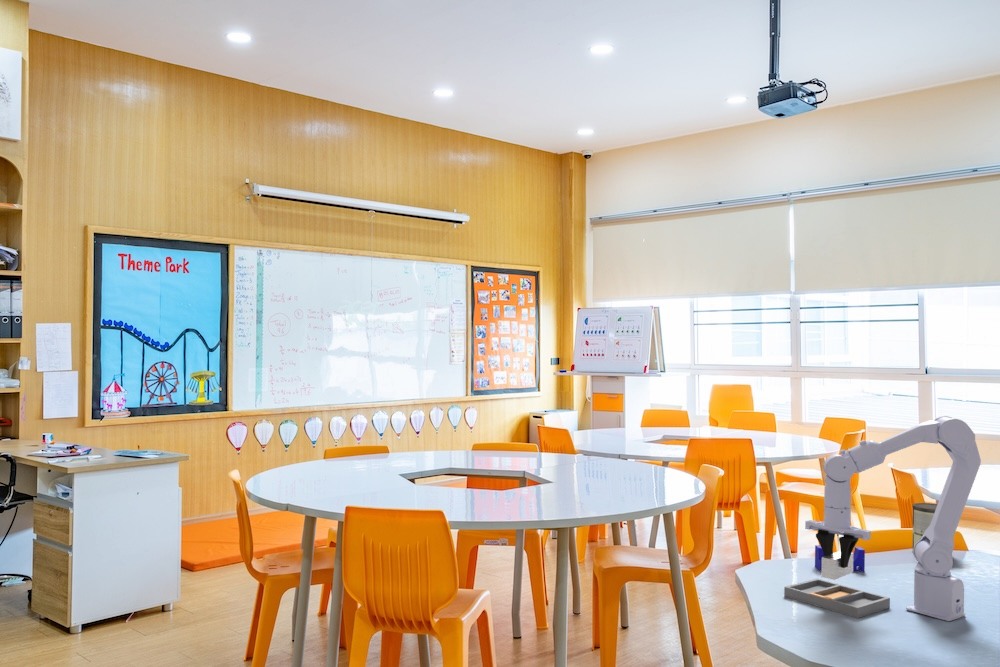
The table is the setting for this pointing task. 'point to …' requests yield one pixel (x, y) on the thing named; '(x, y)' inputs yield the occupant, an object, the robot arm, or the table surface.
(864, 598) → the bay rack
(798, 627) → the table surface
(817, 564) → the blue arch block
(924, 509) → the coffee can
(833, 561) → the light grey rectangular block
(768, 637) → the table surface
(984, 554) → the table surface
